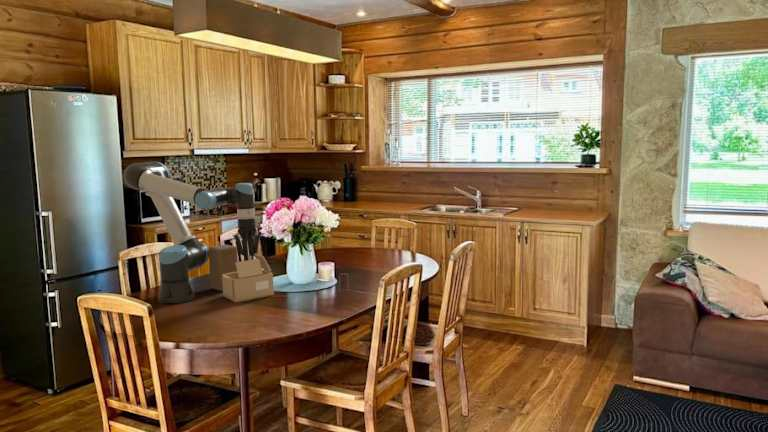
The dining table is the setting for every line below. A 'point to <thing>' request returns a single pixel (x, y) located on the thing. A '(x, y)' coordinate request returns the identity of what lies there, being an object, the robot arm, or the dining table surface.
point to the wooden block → (221, 263)
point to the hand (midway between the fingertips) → (249, 269)
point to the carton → (247, 286)
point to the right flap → (263, 262)
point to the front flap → (249, 268)
